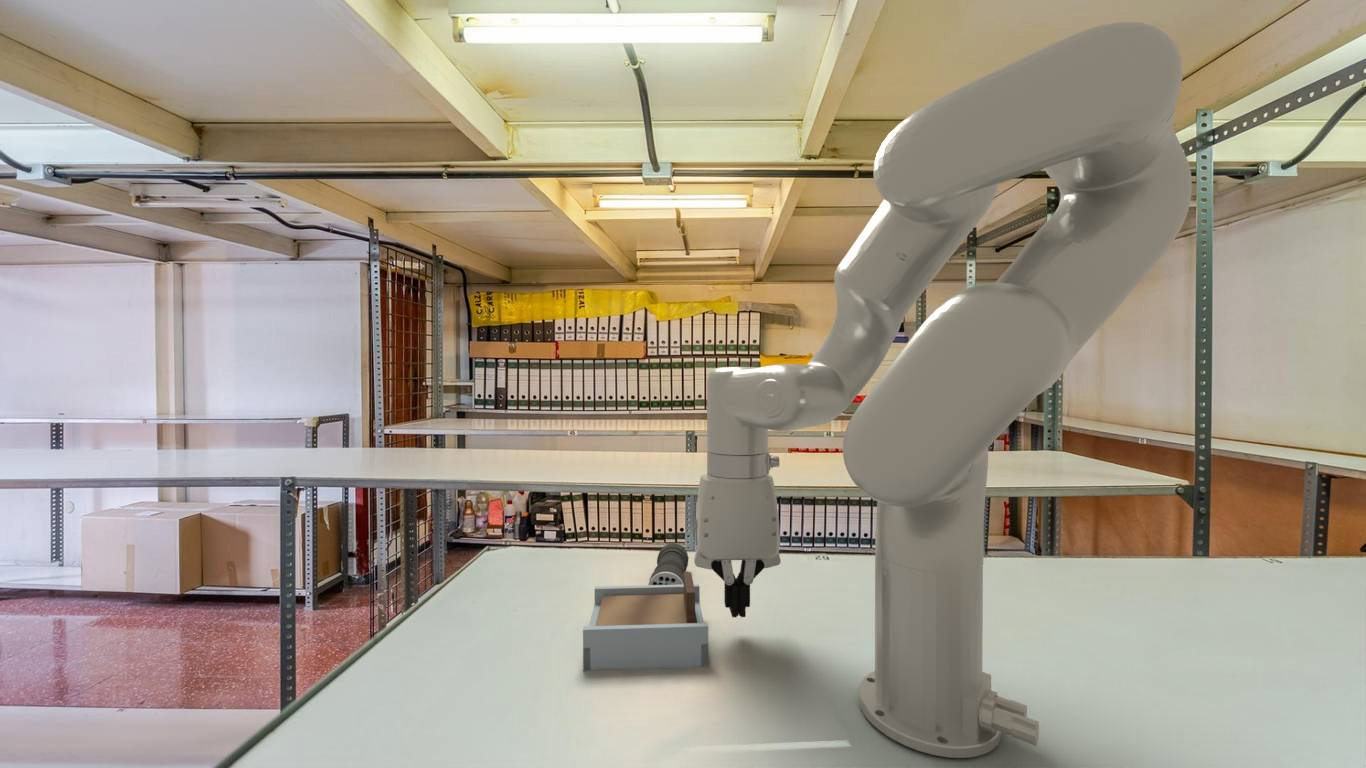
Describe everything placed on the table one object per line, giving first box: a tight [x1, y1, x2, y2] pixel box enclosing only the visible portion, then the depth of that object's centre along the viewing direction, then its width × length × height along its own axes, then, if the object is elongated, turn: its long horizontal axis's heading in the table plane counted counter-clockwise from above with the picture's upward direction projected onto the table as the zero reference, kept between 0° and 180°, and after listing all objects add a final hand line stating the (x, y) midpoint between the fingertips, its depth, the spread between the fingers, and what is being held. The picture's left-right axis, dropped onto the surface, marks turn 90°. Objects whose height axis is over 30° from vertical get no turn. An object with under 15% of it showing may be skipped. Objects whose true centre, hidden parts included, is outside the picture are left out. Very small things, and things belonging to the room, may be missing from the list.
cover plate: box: [596, 571, 697, 626], centre depth 64 cm, size 12×10×5 cm
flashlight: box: [647, 542, 689, 585], centre depth 82 cm, size 15×5×5 cm, turn 177°
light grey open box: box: [582, 583, 709, 671], centre depth 64 cm, size 14×12×5 cm
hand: (737, 612), depth 65 cm, fingers closed
